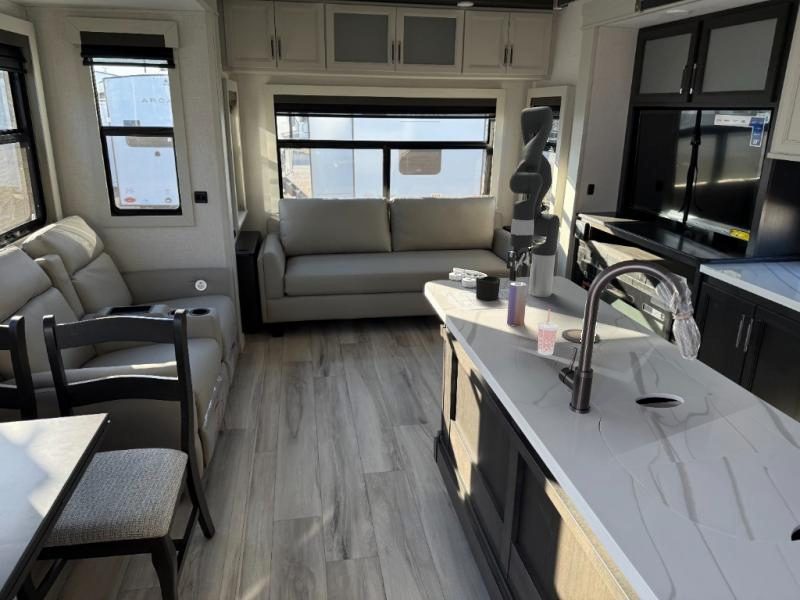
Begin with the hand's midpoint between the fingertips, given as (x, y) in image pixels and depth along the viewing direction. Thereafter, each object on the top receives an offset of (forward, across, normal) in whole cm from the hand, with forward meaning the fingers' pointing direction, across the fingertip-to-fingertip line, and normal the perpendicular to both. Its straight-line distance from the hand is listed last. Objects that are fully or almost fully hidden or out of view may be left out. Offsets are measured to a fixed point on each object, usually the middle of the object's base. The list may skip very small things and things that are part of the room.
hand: (518, 278), depth 194 cm
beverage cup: (+17, +19, +20) cm, 32 cm away
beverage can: (+17, 0, 0) cm, 17 cm away
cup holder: (+17, -32, -40) cm, 54 cm away
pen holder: (+17, -18, -22) cm, 33 cm away
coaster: (+17, -2, +23) cm, 29 cm away
